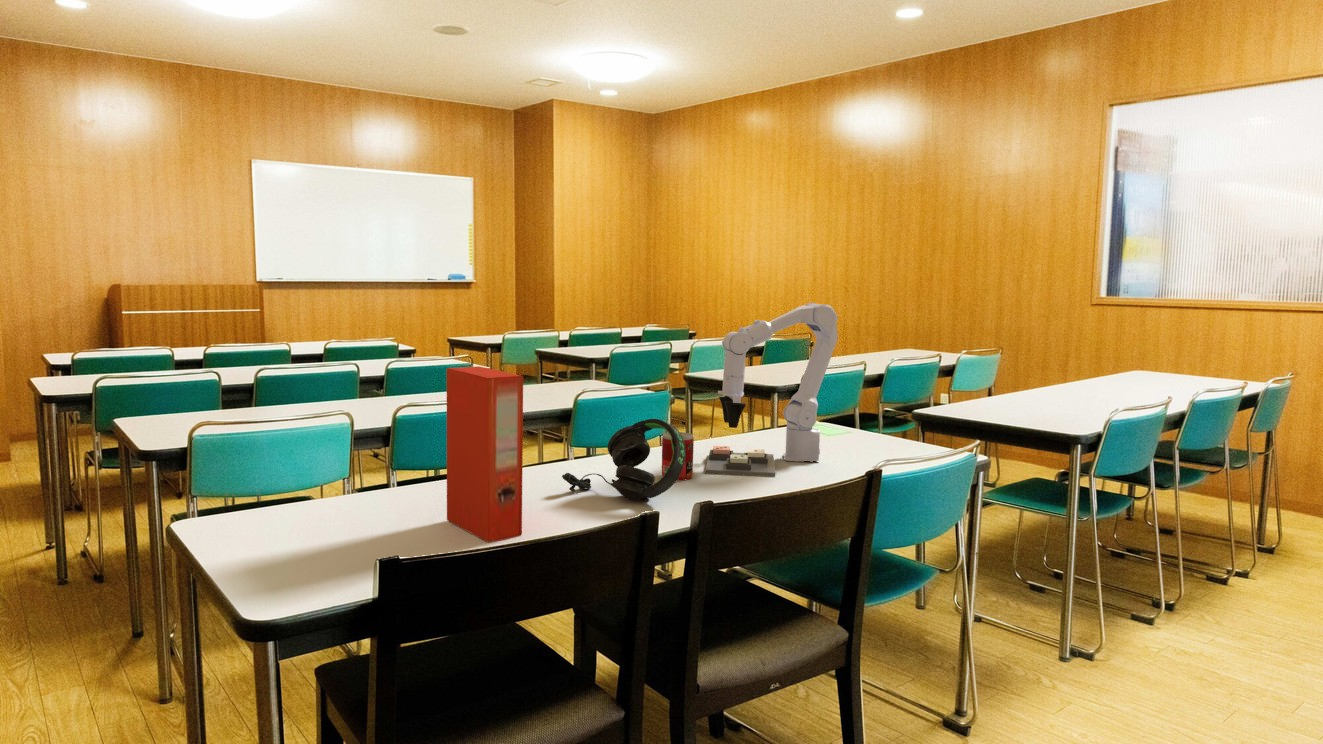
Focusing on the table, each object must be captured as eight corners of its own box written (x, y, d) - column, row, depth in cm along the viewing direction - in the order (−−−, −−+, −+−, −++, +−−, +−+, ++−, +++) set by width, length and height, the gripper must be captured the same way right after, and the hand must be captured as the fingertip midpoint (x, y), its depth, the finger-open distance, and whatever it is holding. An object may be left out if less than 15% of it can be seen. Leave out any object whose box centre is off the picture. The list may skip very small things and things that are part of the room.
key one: (764, 453, 236) (764, 449, 235) (764, 457, 231) (764, 452, 231) (747, 453, 236) (747, 448, 236) (747, 456, 232) (747, 452, 231)
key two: (747, 459, 228) (747, 454, 228) (747, 463, 224) (747, 458, 223) (730, 458, 229) (730, 454, 228) (729, 462, 224) (730, 457, 224)
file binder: (482, 514, 183) (481, 365, 179) (523, 535, 169) (523, 375, 165) (446, 521, 177) (445, 368, 173) (486, 543, 164) (485, 378, 160)
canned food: (692, 481, 214) (694, 438, 213) (661, 480, 214) (661, 437, 213) (692, 473, 222) (693, 432, 220) (661, 473, 222) (662, 431, 221)
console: (773, 457, 242) (773, 449, 242) (775, 476, 221) (775, 467, 220) (709, 455, 244) (709, 446, 244) (705, 473, 222) (705, 464, 222)
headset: (600, 526, 204) (698, 485, 191) (561, 513, 194) (662, 468, 181) (593, 458, 213) (687, 415, 200) (556, 443, 204) (652, 396, 190)
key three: (729, 450, 239) (730, 446, 238) (729, 454, 234) (729, 449, 234) (713, 450, 239) (713, 445, 239) (712, 453, 234) (712, 449, 234)
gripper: (715, 372, 240) (712, 419, 241) (723, 378, 226) (720, 429, 227) (740, 373, 241) (736, 420, 242) (750, 379, 226) (746, 430, 228)
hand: (730, 425), depth 235 cm, fingers open, 7 cm apart
